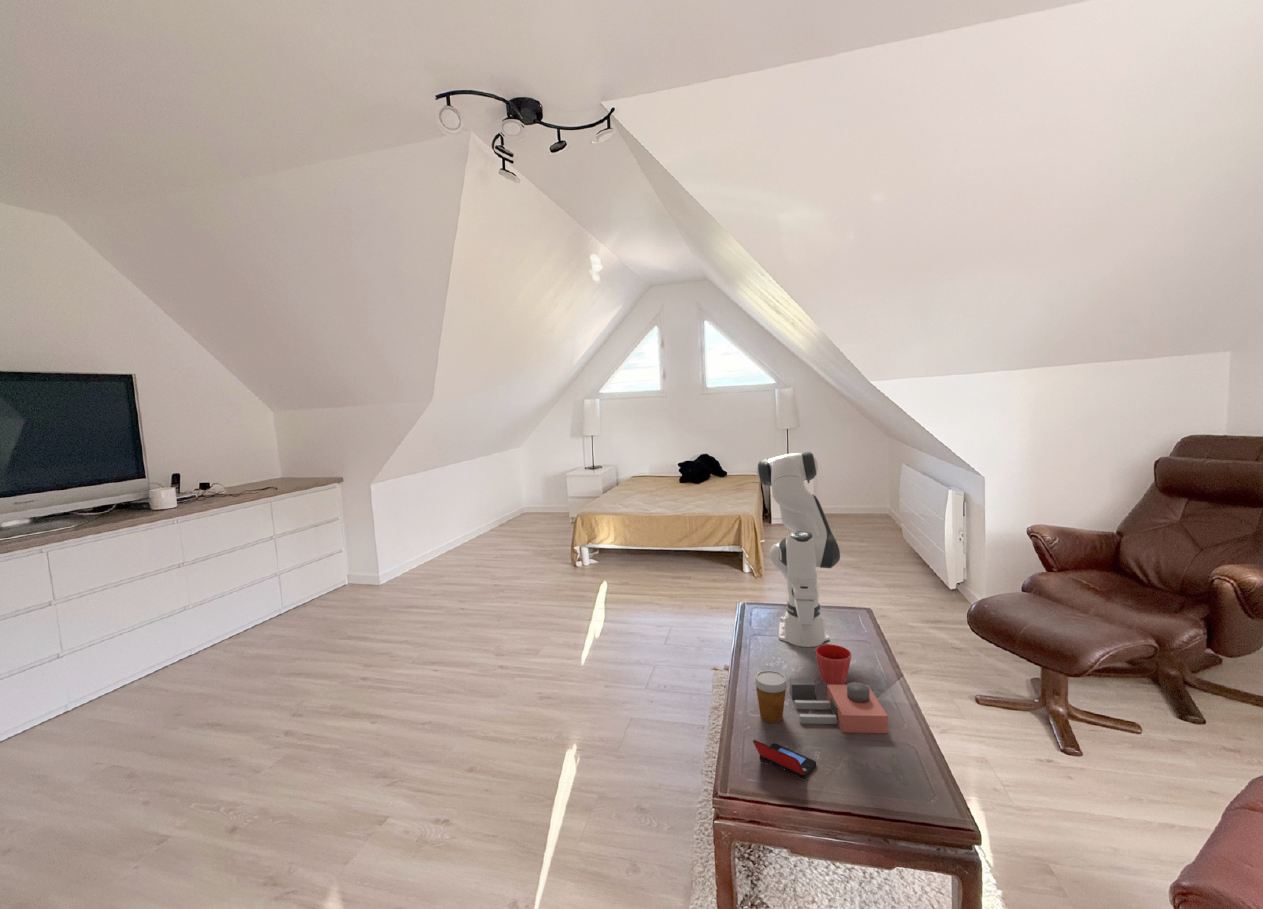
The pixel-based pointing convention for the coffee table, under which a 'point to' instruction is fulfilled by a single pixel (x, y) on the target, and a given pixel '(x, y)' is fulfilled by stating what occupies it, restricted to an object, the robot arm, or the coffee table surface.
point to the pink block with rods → (848, 709)
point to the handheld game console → (786, 759)
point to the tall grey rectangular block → (802, 689)
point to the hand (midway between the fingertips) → (803, 628)
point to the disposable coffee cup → (771, 694)
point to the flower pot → (833, 663)
